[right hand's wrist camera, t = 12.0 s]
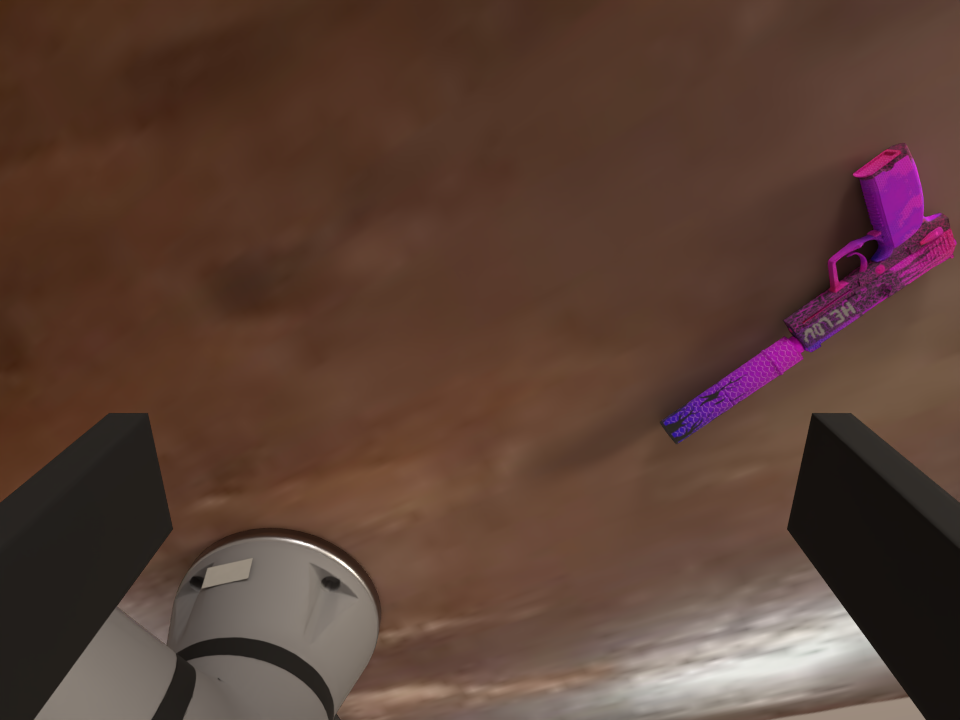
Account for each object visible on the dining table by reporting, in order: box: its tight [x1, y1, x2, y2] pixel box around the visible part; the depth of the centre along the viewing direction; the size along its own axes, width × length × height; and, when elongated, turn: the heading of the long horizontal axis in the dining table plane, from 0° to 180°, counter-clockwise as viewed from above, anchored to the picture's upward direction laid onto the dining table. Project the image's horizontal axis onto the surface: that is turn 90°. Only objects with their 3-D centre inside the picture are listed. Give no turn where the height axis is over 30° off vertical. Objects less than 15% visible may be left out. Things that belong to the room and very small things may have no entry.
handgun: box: [660, 143, 956, 444], centre depth 39 cm, size 21×8×2 cm, turn 131°
